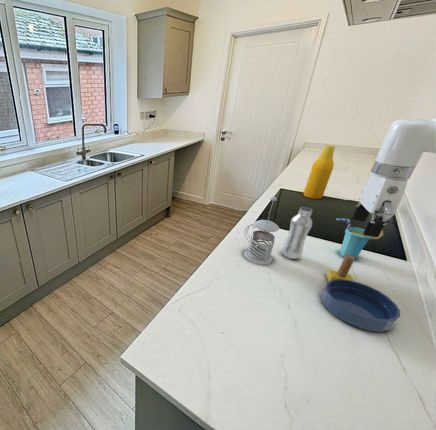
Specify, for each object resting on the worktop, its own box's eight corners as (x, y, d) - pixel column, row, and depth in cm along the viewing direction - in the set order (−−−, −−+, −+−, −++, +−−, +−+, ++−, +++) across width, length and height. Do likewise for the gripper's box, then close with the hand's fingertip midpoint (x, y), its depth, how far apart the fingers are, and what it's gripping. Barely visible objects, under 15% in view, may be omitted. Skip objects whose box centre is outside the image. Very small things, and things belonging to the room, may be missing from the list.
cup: (324, 255, 100) (339, 221, 94) (321, 245, 106) (334, 212, 100) (371, 265, 94) (390, 229, 88) (365, 254, 101) (382, 220, 94)
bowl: (379, 299, 80) (386, 288, 78) (403, 341, 67) (412, 329, 65) (315, 284, 86) (320, 273, 84) (326, 320, 73) (332, 309, 71)
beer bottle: (323, 195, 152) (342, 145, 138) (320, 200, 146) (339, 148, 132) (304, 192, 157) (321, 143, 144) (301, 196, 151) (317, 146, 138)
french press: (263, 267, 95) (281, 205, 83) (234, 252, 103) (247, 194, 92) (277, 258, 99) (296, 198, 88) (248, 244, 108) (263, 188, 97)
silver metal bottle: (290, 262, 97) (307, 214, 88) (276, 252, 103) (290, 206, 94) (304, 259, 98) (322, 212, 89) (289, 249, 104) (305, 204, 95)
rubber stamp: (348, 280, 88) (360, 255, 83) (351, 287, 85) (364, 262, 80) (326, 275, 90) (336, 251, 86) (329, 282, 87) (340, 258, 83)
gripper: (430, 182, 59) (394, 245, 67) (395, 162, 73) (369, 217, 81) (386, 178, 62) (357, 239, 70) (361, 160, 76) (339, 213, 84)
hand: (363, 227), depth 75 cm, fingers open, 9 cm apart
